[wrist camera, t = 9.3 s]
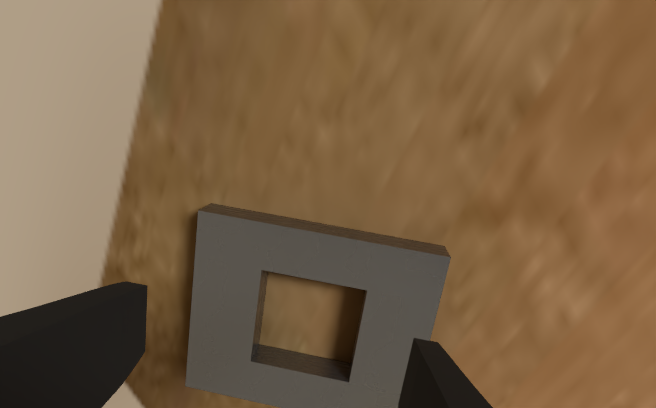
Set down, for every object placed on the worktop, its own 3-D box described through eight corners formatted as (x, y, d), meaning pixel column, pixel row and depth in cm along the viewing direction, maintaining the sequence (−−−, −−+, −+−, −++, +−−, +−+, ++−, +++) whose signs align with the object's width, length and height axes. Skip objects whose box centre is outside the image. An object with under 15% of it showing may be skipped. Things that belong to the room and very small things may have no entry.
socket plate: (403, 413, 21) (405, 435, 19) (197, 368, 22) (185, 386, 20) (444, 246, 18) (450, 257, 17) (211, 203, 19) (198, 210, 18)
